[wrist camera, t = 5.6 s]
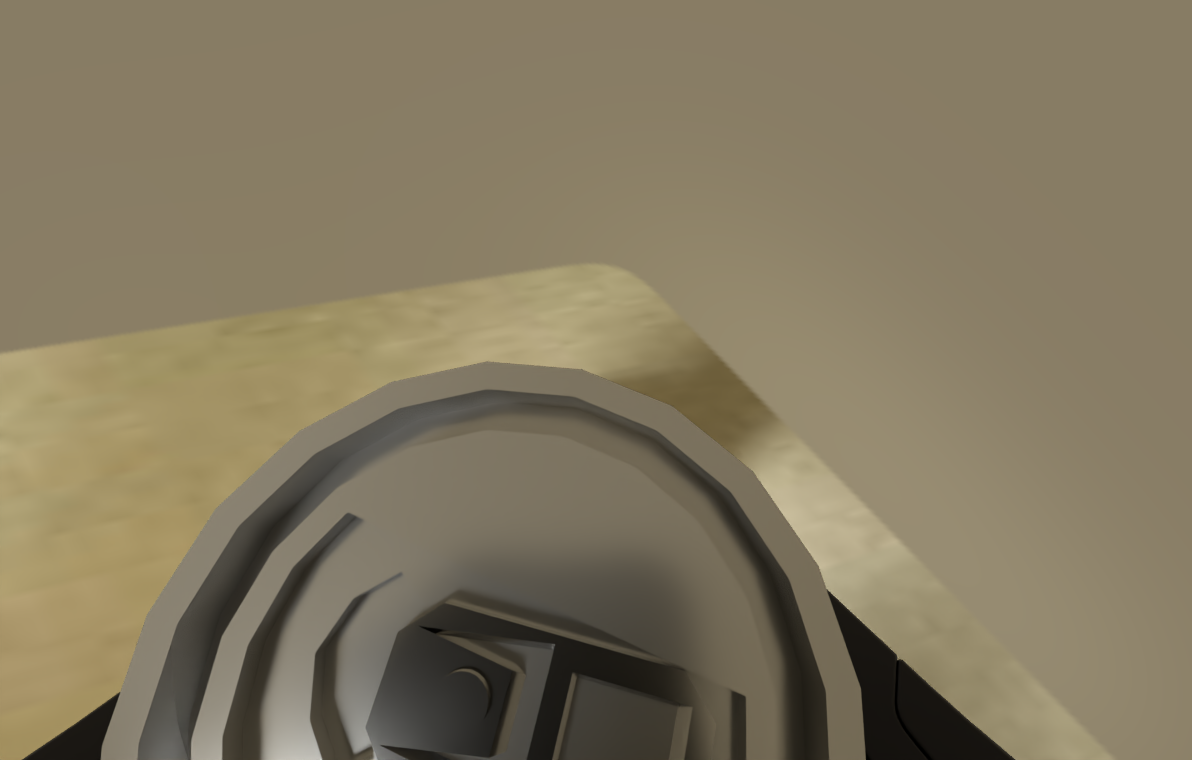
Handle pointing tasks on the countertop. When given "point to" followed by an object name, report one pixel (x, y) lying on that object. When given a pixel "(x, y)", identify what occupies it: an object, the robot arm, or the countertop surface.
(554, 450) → the beer can
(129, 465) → the countertop surface
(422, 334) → the countertop surface
